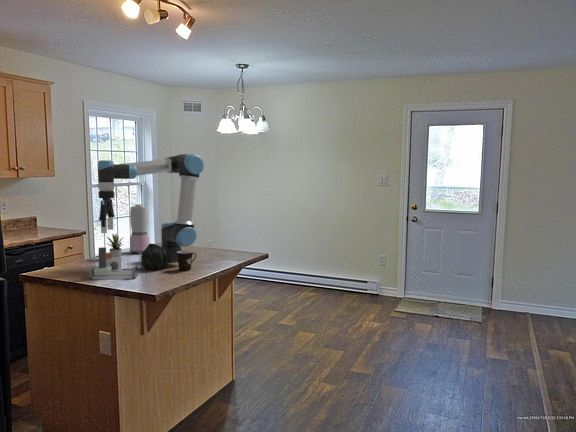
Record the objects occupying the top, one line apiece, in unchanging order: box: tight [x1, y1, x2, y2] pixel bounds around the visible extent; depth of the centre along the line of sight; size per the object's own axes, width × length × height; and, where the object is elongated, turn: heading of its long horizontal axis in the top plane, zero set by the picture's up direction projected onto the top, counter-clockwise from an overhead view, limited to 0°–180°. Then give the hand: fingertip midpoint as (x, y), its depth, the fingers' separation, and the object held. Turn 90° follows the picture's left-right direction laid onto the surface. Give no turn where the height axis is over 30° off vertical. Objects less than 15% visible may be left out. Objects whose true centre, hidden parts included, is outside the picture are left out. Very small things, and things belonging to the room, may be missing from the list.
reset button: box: [106, 252, 112, 259], centre depth 231 cm, size 4×4×4 cm
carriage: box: [94, 246, 112, 275], centre depth 221 cm, size 7×6×13 cm
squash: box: [140, 243, 169, 271], centre depth 246 cm, size 14×15×15 cm
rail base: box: [88, 265, 139, 280], centre depth 223 cm, size 22×7×5 cm, turn 98°
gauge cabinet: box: [106, 256, 122, 271], centre depth 232 cm, size 9×6×8 cm
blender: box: [129, 203, 150, 255], centre depth 292 cm, size 16×12×32 cm
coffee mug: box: [177, 250, 197, 272], centre depth 244 cm, size 12×9×10 cm
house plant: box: [103, 233, 123, 257], centre depth 270 cm, size 14×14×16 cm
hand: (107, 231), depth 229 cm, fingers open, 13 cm apart
